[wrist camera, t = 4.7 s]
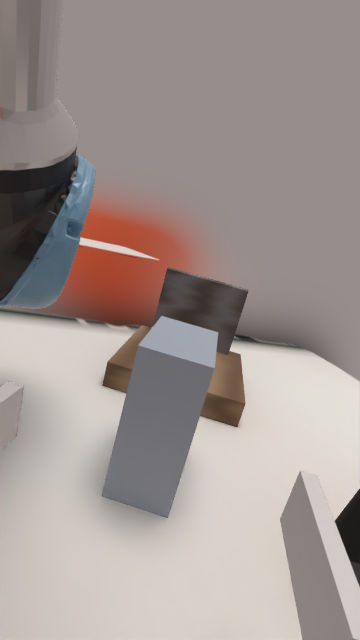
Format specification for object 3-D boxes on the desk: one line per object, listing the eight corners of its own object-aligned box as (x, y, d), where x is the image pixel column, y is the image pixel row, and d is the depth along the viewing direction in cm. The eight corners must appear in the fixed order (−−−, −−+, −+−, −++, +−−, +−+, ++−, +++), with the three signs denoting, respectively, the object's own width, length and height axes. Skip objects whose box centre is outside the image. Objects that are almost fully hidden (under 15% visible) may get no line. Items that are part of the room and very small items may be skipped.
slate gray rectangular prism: (101, 496, 25) (138, 345, 22) (131, 434, 33) (161, 315, 29) (167, 517, 25) (214, 368, 21) (182, 450, 32) (218, 332, 29)
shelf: (102, 385, 40) (126, 276, 36) (137, 342, 55) (156, 263, 52) (237, 426, 39) (275, 319, 35) (234, 371, 54) (260, 292, 51)
